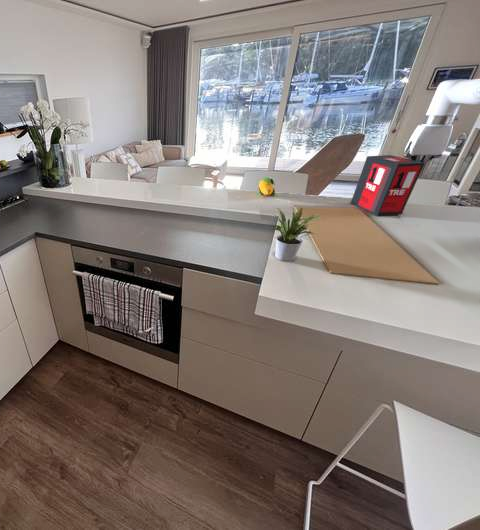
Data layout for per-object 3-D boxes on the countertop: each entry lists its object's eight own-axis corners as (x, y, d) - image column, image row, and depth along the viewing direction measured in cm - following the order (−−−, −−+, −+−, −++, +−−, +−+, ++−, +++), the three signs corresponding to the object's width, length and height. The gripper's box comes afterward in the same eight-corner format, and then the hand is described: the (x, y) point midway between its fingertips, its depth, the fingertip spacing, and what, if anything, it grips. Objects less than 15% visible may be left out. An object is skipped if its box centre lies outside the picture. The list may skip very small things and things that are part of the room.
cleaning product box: (350, 203, 128) (367, 156, 118) (371, 202, 127) (390, 155, 117) (377, 216, 114) (398, 164, 104) (401, 215, 113) (424, 162, 103)
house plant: (319, 273, 81) (337, 219, 73) (265, 268, 85) (277, 216, 77) (306, 251, 93) (321, 202, 85) (260, 247, 97) (270, 200, 89)
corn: (274, 174, 149) (279, 184, 133) (272, 189, 152) (277, 200, 136) (258, 175, 151) (262, 185, 135) (257, 189, 155) (260, 200, 139)
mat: (358, 209, 121) (359, 208, 120) (438, 284, 74) (439, 283, 73) (294, 207, 128) (294, 206, 128) (330, 273, 81) (330, 272, 81)
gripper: (458, 119, 102) (433, 171, 111) (406, 120, 107) (386, 171, 116) (472, 120, 96) (444, 176, 105) (416, 122, 101) (394, 175, 110)
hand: (414, 173), depth 111 cm, fingers closed
